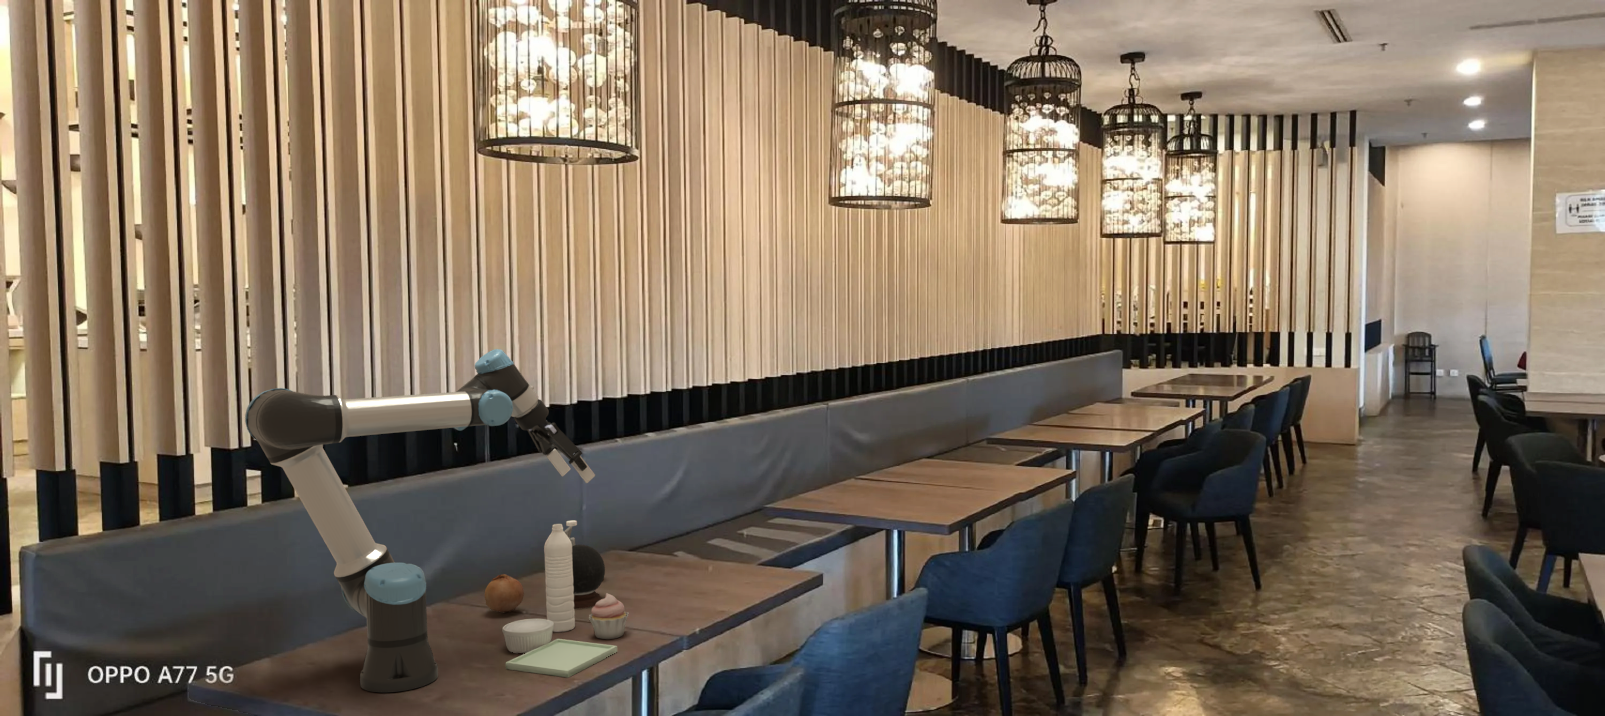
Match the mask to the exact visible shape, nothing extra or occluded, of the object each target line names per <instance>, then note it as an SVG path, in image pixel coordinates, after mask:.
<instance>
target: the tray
mask: <svg viewBox="0 0 1605 716" xmlns="http://www.w3.org/2000/svg"><path fill="white" fill-rule="evenodd" d="M616 652H617V653H618V646H617V645H612V644H605V643H596V642H587V641H581V640H580V641H578V640H572V639H564V638H563V639H562V638H556V639H554V640H551V642H549V643H547V644H545V645H543V646H541V647H538V648H536V649H534V650H532V651H530V652H527V653H525V654H521V655H519V656H517V657H514V658H512V659H510V660H508V661H506V662H505V670H511V671H518V672H525V673H531V674H537V675H538V674H540V675H547V676H554V677H559V678H560V677H561V678H570V677H572V676H574V675H576V674H578V673H580V672H582V671H584V670H586V669H588V668H590V667H591V666H594V665H595V664H598V663H600V662H601V661H604V660H605V659H607V658H609V657H611V656H613V655H614V653H615V654H617V653H616ZM612 654H613V655H612ZM610 655H611V656H610ZM608 656H609V657H608ZM606 657H607V658H606ZM593 664H594V665H593Z"/></svg>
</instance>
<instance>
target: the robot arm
mask: <svg viewBox="0 0 1605 716" xmlns="http://www.w3.org/2000/svg"><path fill="white" fill-rule="evenodd" d="M474 370H476V374H475V375H474V377H473V378H471V379H470V380H469V381H467V383H465V384H463V386H461V387H460V388H459V389H457V391H453V392H436V393H423V394H408V395H407V394H406V395H393V396H392V395H391V396H377V397H376V396H375V397H362V398H361V397H360V398H348V399H346V398H345V399H344V398H341V396H339V395H337V394H332V395H331V394H330V395H328V394H327V395H319V394H318V395H317V394H308V393H303V392H299V391H294V390H291V389H288V388H283V387H279V388H278V387H276V388H271V389H267V390H264V391H262V392H260V393H259V394H257V395H256V396H255V397H253V399H251V401H250V402H249V404H248V405H247V408H246V410H245V414H244V416H245V417H244V422H245V423H244V424H245V427H246V429H247V431H248V433H249V435H250V436H251V437H252V438H253V439H254V440H256V441H257V443H258V444H259V445H260V447H261V449H262V451H263V452H264V454H265V456H266V458H267V459H268V461H269V463H270V464H271V465H273V466H277V467H281V468H282V469H283V471H284V473H285V475H286V477H287V478H288V481H289V482H290V484H291V485H292V487H293V489H294V490H295V492H296V494H297V496H298V498H299V499H300V502H301V503H302V504H303V507H304V508H305V510H306V511H307V513H308V515H309V517H310V519H311V521H312V523H313V524H314V526H315V527H316V529H317V531H318V533H319V535H320V536H321V538H322V540H323V541H324V543H325V545H326V547H327V549H328V551H329V552H330V554H331V555H332V557H333V559H334V561H335V563H336V565H335V567H334V571H333V574H334V577H335V578H336V580H337V582H338V584H339V585H340V587H341V594H342V597H343V599H344V601H345V603H346V604H347V605H348V607H349V608H350V609H352V611H355V612H356V613H358V614H360V615H361V616H363V617H364V618H365V619H366V629H367V633H366V634H367V650H366V653H365V657H364V661H363V668H362V670H361V671H360V674H359V680H360V681H359V682H360V684H359V685H360V688H362V689H363V690H365V691H367V692H372V693H373V692H374V693H395V692H397V693H398V692H404V691H410V690H413V689H414V690H415V689H418V688H421V687H425V686H427V685H430V684H431V683H433V682H434V681H435V680H437V678H438V677H439V669H438V667H439V666H438V663H437V661H436V660H435V658H434V654H433V651H432V647H431V645H430V643H429V639H428V615H427V593H426V592H427V580H426V578H425V573H424V571H423V569H422V568H421V567H419V566H418V565H417V564H416V565H415V564H414V563H413V564H412V563H406V562H395V560H394V559H393V556H392V554H391V553H390V551H389V549H388V548H387V546H386V545H384V544H380V543H377V542H375V540H374V538H373V536H372V535H371V533H370V531H369V529H368V527H367V525H366V524H365V522H364V520H363V518H362V516H361V515H360V513H359V511H358V510H357V507H356V506H355V504H354V502H353V500H352V498H351V497H350V496H351V495H349V493H348V491H347V489H346V487H345V486H344V484H343V482H342V480H341V478H340V476H339V475H338V473H337V471H336V469H335V468H334V465H333V464H332V462H331V460H330V459H329V457H328V455H327V453H326V451H325V450H324V448H323V447H324V445H329V444H330V445H331V444H338V443H342V442H343V440H344V439H345V438H349V437H360V436H361V437H363V436H370V435H371V436H372V435H381V434H383V435H384V434H393V433H405V432H406V433H407V432H416V431H427V430H428V431H429V430H438V429H439V430H441V429H449V428H453V429H455V430H457V431H463V430H465V429H466V428H468V427H474V426H475V427H476V426H489V427H495V426H496V427H497V426H501V425H504V424H505V423H507V422H508V421H509V420H510V418H511V417H513V419H514V421H515V422H516V424H517V425H518V427H520V429H521V430H523V431H527V433H528V434H529V436H530V437H531V439H532V442H533V444H534V445H535V447H536V448H537V450H538V453H542V454H543V455H545V456H546V458H547V459H548V460H549V462H550V463H551V465H553V467H554V468H555V470H556V471H557V472H558V473H559V474H560V475H559V476H561V477H564V476H565V475H566V474H567V473H568V472H569V471H571V470H572V469H571V467H570V466H569V465H571V466H572V467H573V468H574V469H575V471H576V473H578V475H579V477H581V479H582V480H583V482H585V484H588V483H589V482H590V481H592V480H593V478H595V476H596V474H595V473H594V471H593V470H592V469H591V468H590V466H589V465H588V464H587V462H586V461H585V460H584V458H583V457H582V455H583V451H582V450H580V449H579V448H578V446H577V445H575V443H574V442H572V440H570V438H569V437H568V436H567V435H566V434H565V433H564V432H563V431H562V430H561V429H560V428H559V427H558V425H557V424H556V422H552V423H551V421H548V420H547V417H548V416H549V408H548V407H547V406H546V404H545V403H544V402H543V401H542V399H539V396H538V394H537V392H536V391H534V389H535V387H534V385H530V384H529V382H528V381H527V379H525V377H524V376H523V374H522V373H521V371H520V370H519V369H518V367H517V366H516V365H515V363H514V361H513V360H511V358H510V357H509V356H508V355H507V353H505V352H504V350H503V349H501V348H499V349H498V348H495V349H492V350H491V351H487V352H486V353H485V354H484V355H482V356H481V357H480V358H479V359H478V360H477V361H476V362H475V364H474ZM560 453H561V454H563V455H564V456H565V457H566V458H567V459H568V463H567V462H566V460H565V459H564V457H562V455H561V454H560Z"/></svg>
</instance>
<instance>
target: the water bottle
mask: <svg viewBox="0 0 1605 716" xmlns="http://www.w3.org/2000/svg"><path fill="white" fill-rule="evenodd" d="M565 522H566V527H569V526H573V527H575V526H577V525H578V521H577V520H573V519H572V520H567V521H565ZM564 531H565V530H564V527H563V524H562V523H554V524H552V527H551V533H550V534H549V536H547V538H546V540H545V543H544V546H543V548H544V549H543V551H544V569H545V570H544V574H545V575H544V576H545V600H546V602H545V604H546V606H545V608H546V618H547V620H550V621H552V622H553V623H554V628H553V631H552V633H553V632H554V633H561V632H562V633H563V632H569V631H571V630H573V629H575V626H576V619H575V618H576V617H575V615H576V613H575V609H574V601H573V600H574V594H573V592H574V587H573V568H572V567H573V565H572V563H573V562H572V543H571V541H570V539H569V538H568V536H567V535H566V534H565V532H564Z"/></svg>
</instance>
